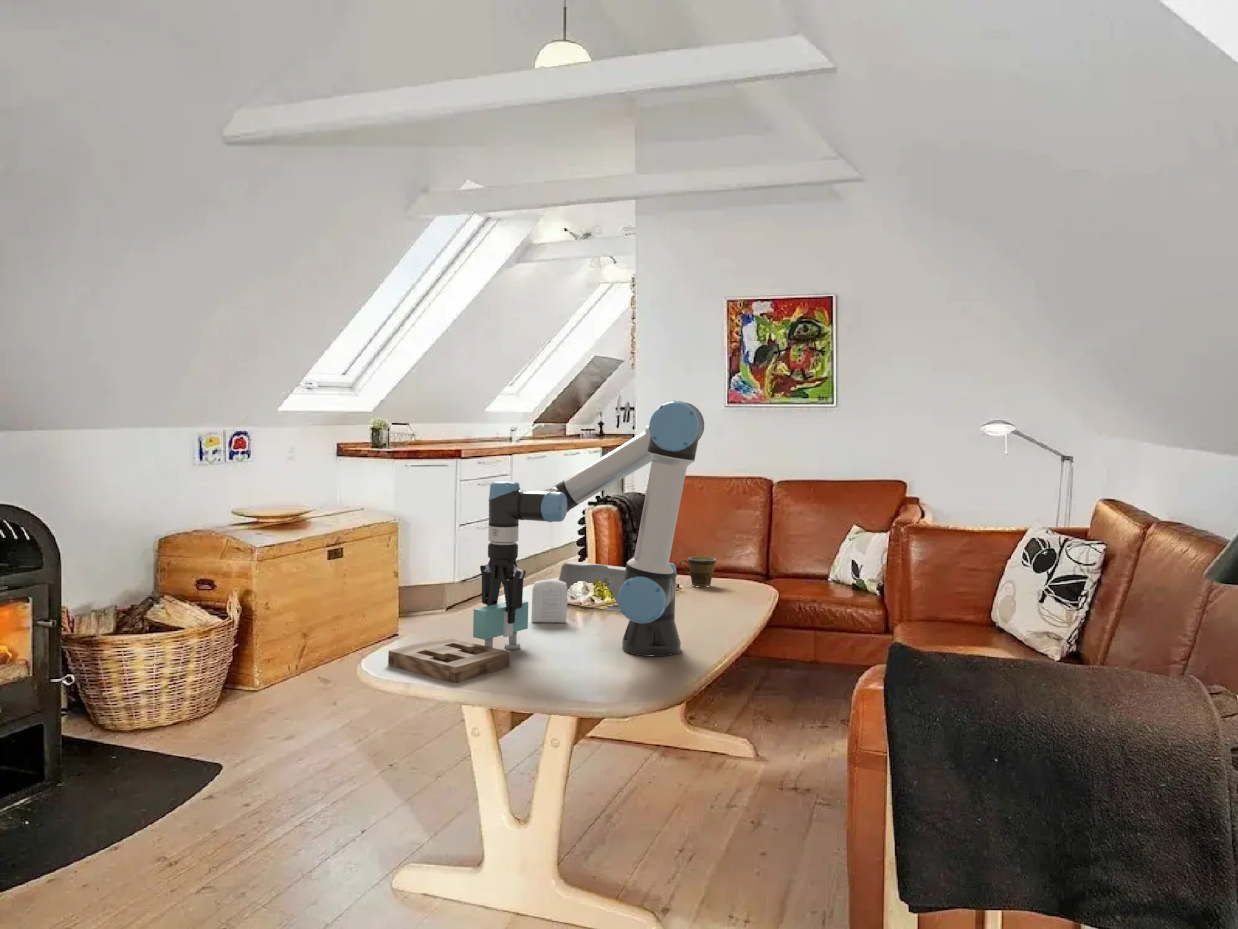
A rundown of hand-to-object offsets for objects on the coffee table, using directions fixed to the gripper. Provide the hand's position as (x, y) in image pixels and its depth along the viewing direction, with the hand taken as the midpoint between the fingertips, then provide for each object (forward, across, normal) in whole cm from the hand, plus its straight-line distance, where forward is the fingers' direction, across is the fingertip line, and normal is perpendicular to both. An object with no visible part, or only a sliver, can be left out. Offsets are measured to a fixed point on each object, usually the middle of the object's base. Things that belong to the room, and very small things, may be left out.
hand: (501, 634), depth 230 cm
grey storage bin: (+5, -17, +66) cm, 68 cm away
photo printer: (+5, -12, +34) cm, 36 cm away
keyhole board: (+4, 0, -18) cm, 19 cm away
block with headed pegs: (+4, 0, 0) cm, 4 cm away
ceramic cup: (+5, -9, +115) cm, 115 cm away
